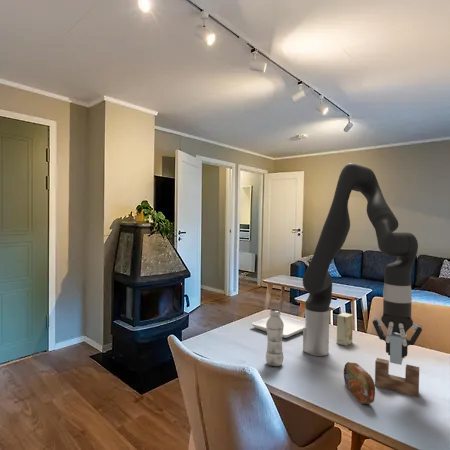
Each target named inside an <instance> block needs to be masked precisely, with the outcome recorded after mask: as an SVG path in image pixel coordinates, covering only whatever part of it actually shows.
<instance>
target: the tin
mask: <svg viewBox="0 0 450 450" xmlns="http://www.w3.org/2000/svg"><path fill="white" fill-rule="evenodd" d="M343 380H344V383H345V387H346V388H347V390H348V391H349V392H350V393H351V394H352V396H353V397H355V399H356V400H357V401H358V402H359V403H360V404H363V405H365V404H372V403H374V401H375V397H376V386H375V380H374V379H373V377H372V376H371V374H370V373H368V371H366V370H365V369H364V368H363V367H362V366H361V365H360V364H358V363H356V362H348V361H347V362H346V363H345V364H344V367H343Z"/></svg>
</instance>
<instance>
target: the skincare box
mask: <svg viewBox="0 0 450 450" xmlns="http://www.w3.org/2000/svg"><path fill="white" fill-rule="evenodd" d="M336 319H337V320H336V344H339V345H342V346H348V345H351V344H353V331H354V330H353V328H354V327H353V326H354V315H353V314H352V313H348V312H342V313H339V314H337V317H336Z"/></svg>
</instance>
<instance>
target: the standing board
mask: <svg viewBox="0 0 450 450" xmlns="http://www.w3.org/2000/svg"><path fill="white" fill-rule="evenodd" d="M375 359H376V360H375V363H374V364H375V368H374V384H375V387H377V388H378V387H379V388H382V389H385V390H390V391H393V392H397V393H400V394H404V395H408V396H412V397H416V398H419V396H420V395H419V394H420V367H419V366H416V365H412V364H411V365H410V364H406V365H405V374H404V375H405V377H401V376H397V375H394V374H389V369H390V368H389V367H390V359H385V358H380V357H376V358H375Z"/></svg>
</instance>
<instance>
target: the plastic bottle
mask: <svg viewBox="0 0 450 450" xmlns="http://www.w3.org/2000/svg"><path fill="white" fill-rule="evenodd" d="M280 315H281V310H280V309H279V308H270V310H269V317H270V318H269V319H268V321H267V323H266V328H267V332H266V337H267V344H266V351H265V362H266V363H267V364H268V365H269V366H271V367H280V366H281V365H282V364H284V352H283V337H282V335H283V328H284V324H283V321H282V320H281V318H280Z"/></svg>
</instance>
